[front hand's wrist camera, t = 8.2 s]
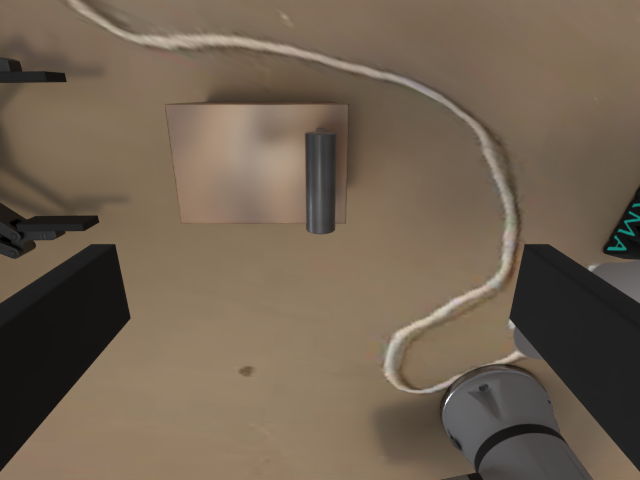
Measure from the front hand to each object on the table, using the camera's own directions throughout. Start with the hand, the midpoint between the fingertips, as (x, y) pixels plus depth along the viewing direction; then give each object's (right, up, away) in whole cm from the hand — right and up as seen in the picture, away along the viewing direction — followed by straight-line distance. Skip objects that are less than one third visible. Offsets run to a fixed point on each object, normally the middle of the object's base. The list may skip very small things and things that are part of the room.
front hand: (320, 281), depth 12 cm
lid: (-5, +8, +21) cm, 23 cm away
